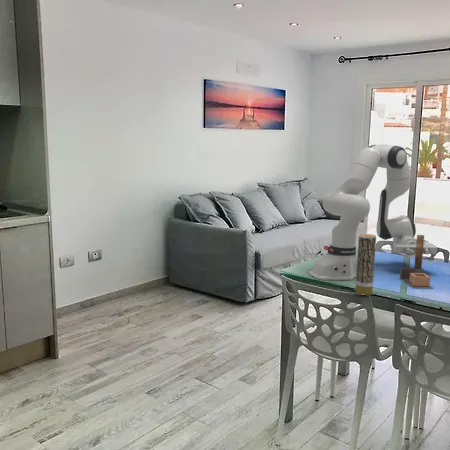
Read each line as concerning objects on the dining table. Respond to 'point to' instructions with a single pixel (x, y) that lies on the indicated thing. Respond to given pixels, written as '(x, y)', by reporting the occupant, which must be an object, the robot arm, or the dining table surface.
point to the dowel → (419, 251)
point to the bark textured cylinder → (365, 264)
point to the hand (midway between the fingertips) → (419, 252)
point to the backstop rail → (406, 276)
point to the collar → (419, 279)
